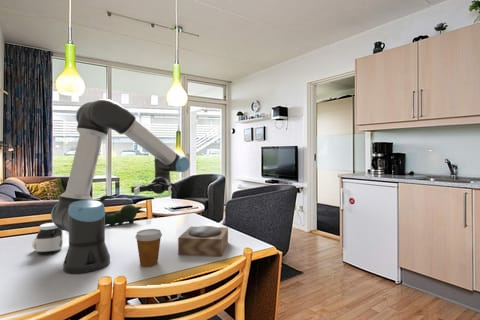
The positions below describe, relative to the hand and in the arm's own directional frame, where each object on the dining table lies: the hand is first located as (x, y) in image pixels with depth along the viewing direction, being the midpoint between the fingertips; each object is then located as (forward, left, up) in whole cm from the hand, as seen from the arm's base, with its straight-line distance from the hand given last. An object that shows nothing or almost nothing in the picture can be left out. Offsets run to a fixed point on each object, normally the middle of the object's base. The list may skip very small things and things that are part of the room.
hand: (152, 191), depth 112 cm
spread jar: (-46, -1, -26) cm, 53 cm away
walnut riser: (+20, +10, -26) cm, 34 cm away
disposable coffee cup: (+3, -9, -26) cm, 28 cm away
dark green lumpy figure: (-41, +46, -26) cm, 66 cm away
